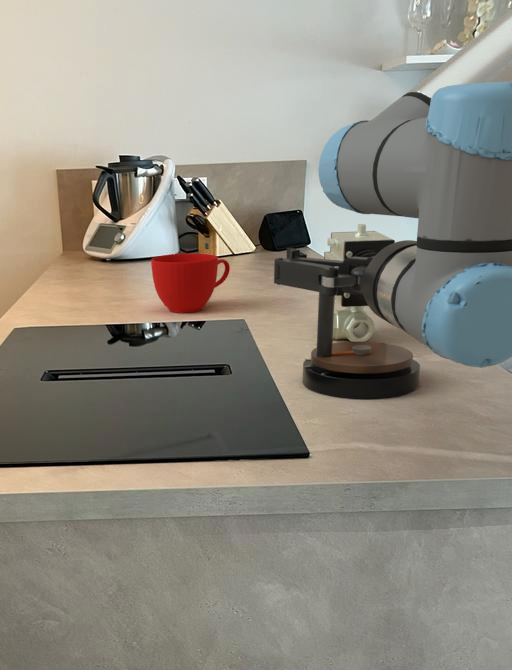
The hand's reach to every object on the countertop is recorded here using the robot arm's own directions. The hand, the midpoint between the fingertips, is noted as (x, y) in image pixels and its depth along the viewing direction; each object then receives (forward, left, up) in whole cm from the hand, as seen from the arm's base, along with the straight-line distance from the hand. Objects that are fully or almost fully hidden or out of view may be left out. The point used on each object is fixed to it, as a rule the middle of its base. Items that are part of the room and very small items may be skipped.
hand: (348, 257), depth 90 cm
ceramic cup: (+38, -55, -18) cm, 69 cm away
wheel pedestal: (-1, -10, -17) cm, 20 cm away
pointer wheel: (-1, -10, -14) cm, 18 cm away
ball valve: (+4, -35, -18) cm, 40 cm away
